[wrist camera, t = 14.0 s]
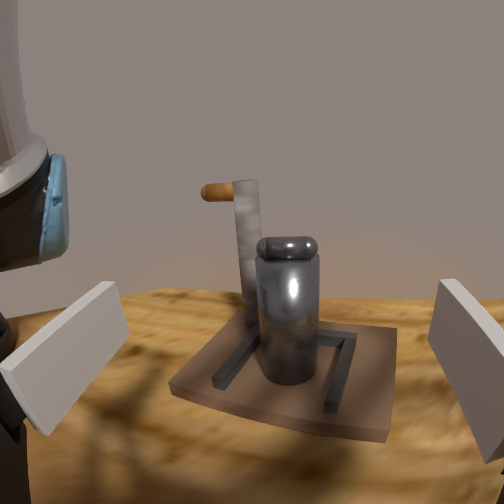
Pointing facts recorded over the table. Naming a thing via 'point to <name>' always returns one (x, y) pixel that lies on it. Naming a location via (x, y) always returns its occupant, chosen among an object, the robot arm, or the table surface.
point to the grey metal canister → (288, 307)
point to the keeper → (328, 357)
